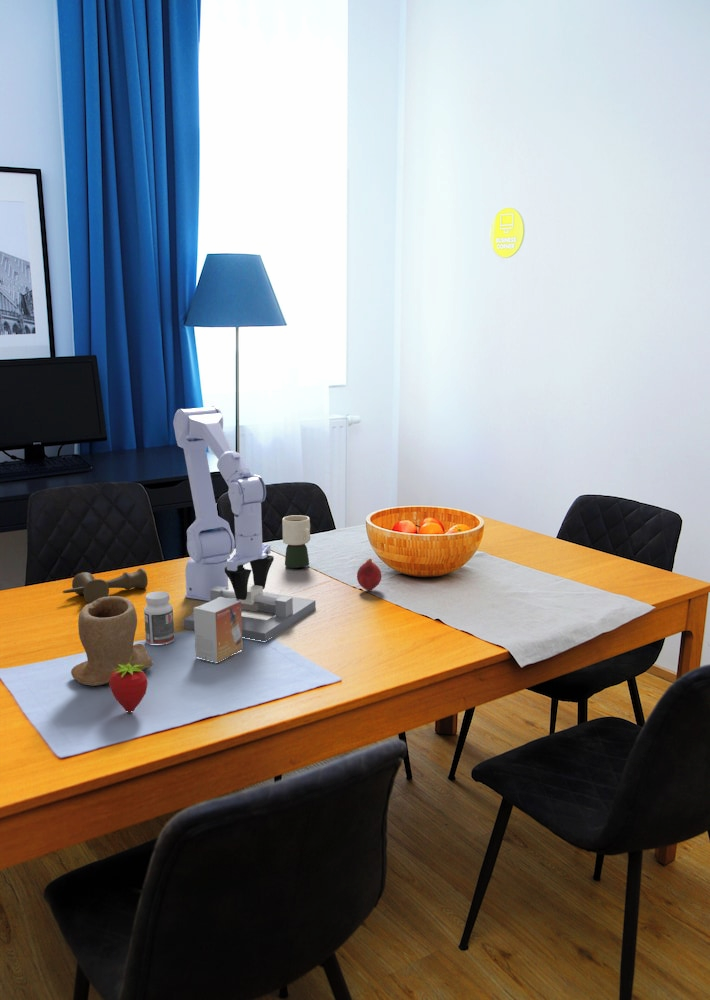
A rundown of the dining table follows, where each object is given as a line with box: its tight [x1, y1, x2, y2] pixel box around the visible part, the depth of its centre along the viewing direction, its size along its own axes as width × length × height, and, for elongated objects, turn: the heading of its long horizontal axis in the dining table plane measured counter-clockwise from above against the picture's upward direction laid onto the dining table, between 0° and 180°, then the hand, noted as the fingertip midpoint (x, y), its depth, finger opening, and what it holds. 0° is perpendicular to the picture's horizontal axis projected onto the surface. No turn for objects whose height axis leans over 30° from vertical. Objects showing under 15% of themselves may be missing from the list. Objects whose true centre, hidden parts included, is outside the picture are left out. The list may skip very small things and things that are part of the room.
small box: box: [193, 597, 243, 663], centre depth 173 cm, size 8×6×10 cm
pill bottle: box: [143, 590, 175, 645], centre depth 181 cm, size 6×6×10 cm
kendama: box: [62, 567, 149, 604], centre depth 210 cm, size 6×10×20 cm
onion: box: [356, 558, 383, 592], centre depth 211 cm, size 6×6×8 cm
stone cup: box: [70, 595, 154, 687], centre depth 164 cm, size 15×12×15 cm
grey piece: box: [182, 586, 317, 641], centre depth 194 cm, size 20×22×6 cm
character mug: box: [281, 514, 311, 569], centre depth 229 cm, size 11×7×13 cm, turn 40°
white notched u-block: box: [239, 584, 267, 612], centre depth 193 cm, size 5×5×4 cm
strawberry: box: [108, 656, 149, 713], centre depth 150 cm, size 6×8×10 cm
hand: (250, 593), depth 193 cm, fingers open, 7 cm apart
